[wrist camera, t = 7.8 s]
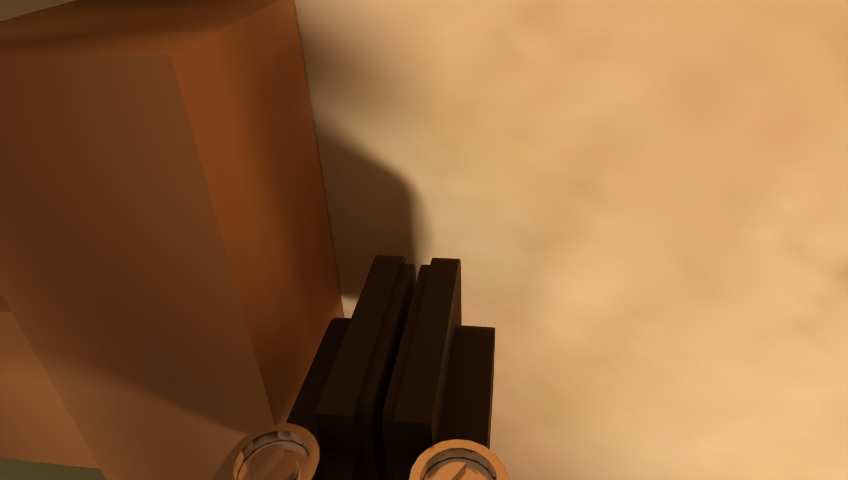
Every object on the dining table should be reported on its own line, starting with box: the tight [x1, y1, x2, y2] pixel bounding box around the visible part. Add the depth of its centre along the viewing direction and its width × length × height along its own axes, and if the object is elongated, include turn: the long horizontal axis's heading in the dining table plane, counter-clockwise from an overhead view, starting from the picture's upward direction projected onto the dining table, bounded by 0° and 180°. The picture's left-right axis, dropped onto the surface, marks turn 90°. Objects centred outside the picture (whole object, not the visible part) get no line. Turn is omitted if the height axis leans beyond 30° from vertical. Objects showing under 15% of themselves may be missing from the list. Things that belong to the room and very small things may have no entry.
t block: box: [0, 0, 344, 480], centre depth 12 cm, size 12×12×4 cm
